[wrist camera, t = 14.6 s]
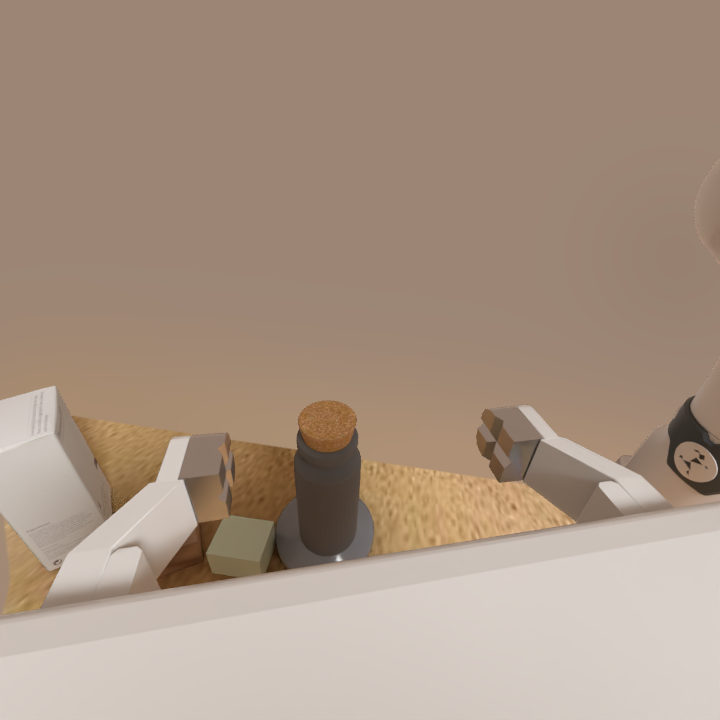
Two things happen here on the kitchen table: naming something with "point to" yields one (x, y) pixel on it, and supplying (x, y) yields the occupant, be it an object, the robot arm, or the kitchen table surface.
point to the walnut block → (187, 553)
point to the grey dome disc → (300, 556)
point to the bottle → (327, 477)
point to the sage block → (242, 546)
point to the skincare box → (48, 476)
